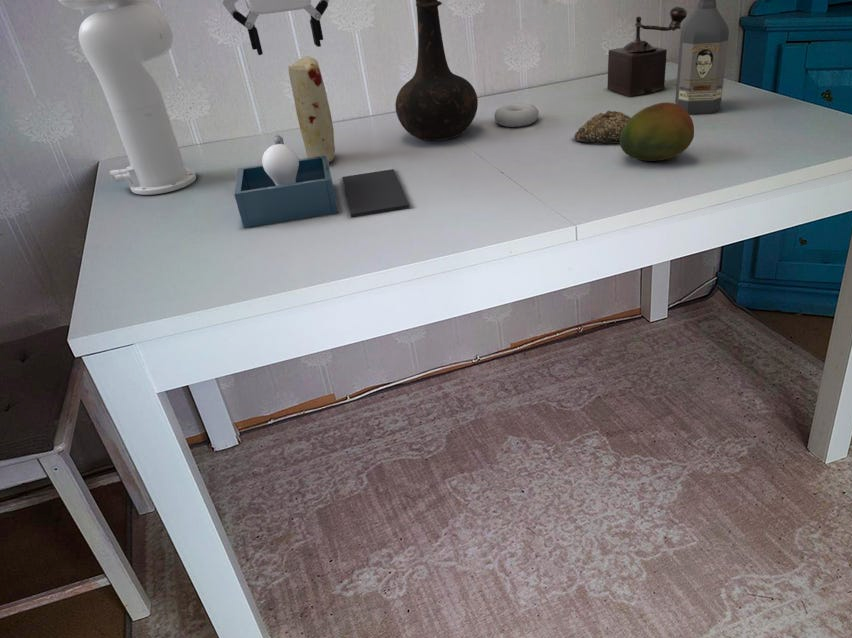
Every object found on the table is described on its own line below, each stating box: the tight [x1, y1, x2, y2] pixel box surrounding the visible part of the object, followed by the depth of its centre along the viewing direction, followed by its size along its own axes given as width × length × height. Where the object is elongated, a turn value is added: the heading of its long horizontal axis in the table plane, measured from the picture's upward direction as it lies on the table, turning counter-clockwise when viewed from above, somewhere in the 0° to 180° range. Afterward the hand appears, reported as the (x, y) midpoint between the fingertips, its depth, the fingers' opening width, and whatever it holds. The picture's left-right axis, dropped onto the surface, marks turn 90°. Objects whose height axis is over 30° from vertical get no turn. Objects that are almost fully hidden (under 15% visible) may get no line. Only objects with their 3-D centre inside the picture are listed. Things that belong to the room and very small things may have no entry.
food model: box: [288, 55, 336, 163], centre depth 140 cm, size 10×7×20 cm
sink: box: [233, 133, 339, 229], centre depth 123 cm, size 16×16×11 cm
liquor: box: [674, 0, 730, 115], centre depth 147 cm, size 9×9×30 cm
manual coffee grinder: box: [606, 6, 688, 98], centre depth 169 cm, size 16×11×18 cm
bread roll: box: [574, 110, 632, 144], centre depth 143 cm, size 13×12×5 cm
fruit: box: [619, 101, 695, 162], centre depth 127 cm, size 12×13×10 cm
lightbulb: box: [261, 143, 299, 186], centre depth 122 cm, size 6×6×11 cm
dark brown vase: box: [394, 0, 479, 141], centre depth 146 cm, size 18×18×28 cm
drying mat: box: [341, 168, 410, 218], centre depth 127 cm, size 10×20×1 cm, turn 14°
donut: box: [494, 102, 539, 128], centre depth 157 cm, size 10×4×10 cm
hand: (289, 49), depth 117 cm, fingers open, 9 cm apart
